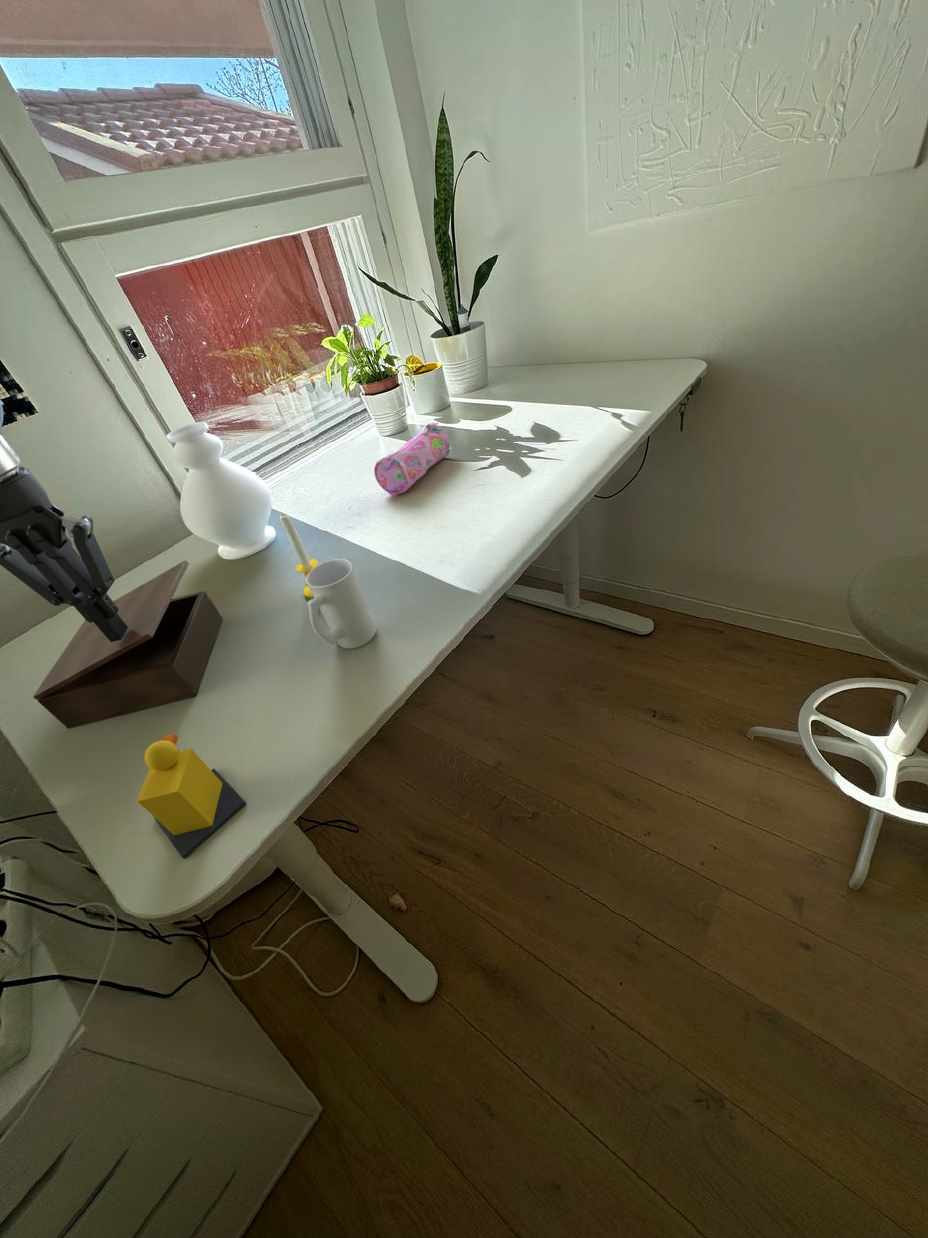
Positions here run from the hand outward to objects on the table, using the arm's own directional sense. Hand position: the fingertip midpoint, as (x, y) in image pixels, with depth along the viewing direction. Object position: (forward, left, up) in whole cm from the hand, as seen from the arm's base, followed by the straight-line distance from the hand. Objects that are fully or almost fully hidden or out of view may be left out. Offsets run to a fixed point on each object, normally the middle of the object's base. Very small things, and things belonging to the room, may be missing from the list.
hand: (119, 634), depth 72 cm
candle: (+28, -2, -12) cm, 31 cm away
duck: (-6, -26, -11) cm, 29 cm away
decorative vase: (+31, +29, -12) cm, 44 cm away
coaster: (-7, -26, -12) cm, 29 cm away
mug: (+22, -19, -12) cm, 32 cm away
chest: (+1, +7, -12) cm, 14 cm away
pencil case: (+69, +13, -12) cm, 72 cm away
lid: (+1, +7, -2) cm, 8 cm away
